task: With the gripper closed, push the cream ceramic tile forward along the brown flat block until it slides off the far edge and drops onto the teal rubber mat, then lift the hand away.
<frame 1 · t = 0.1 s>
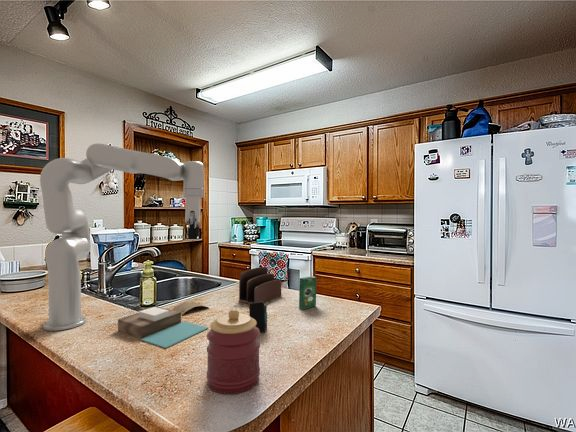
hand: (193, 237, 119), 31 cm above the countertop, tool pointing down, fingers open, 9 cm apart
letter holder: (260, 299, 146), on the countertop
coffee box: (307, 307, 133), on the countertop
tile: (154, 316, 109), point 4 cm above the countertop, touching brown flat block
brown flat block: (150, 326, 110), on the countertop
speaker: (257, 330, 108), on the countertop
clay tablet: (190, 310, 129), on the countertop
canister: (233, 380, 76), on the countertop
mat: (175, 334, 103), on the countertop
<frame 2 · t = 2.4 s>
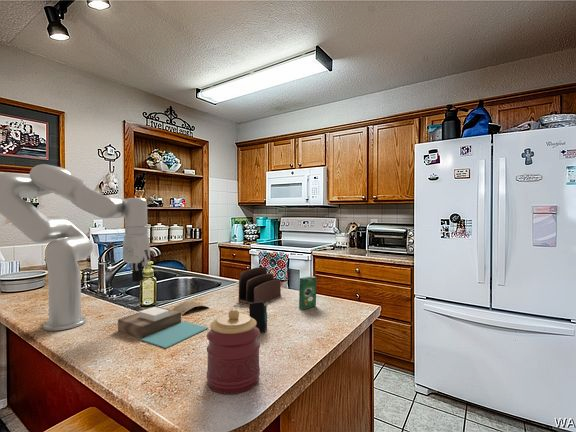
hand: (137, 280, 113), 16 cm above the countertop, tool pointing down, fingers closed
nothing on the countertop moved.
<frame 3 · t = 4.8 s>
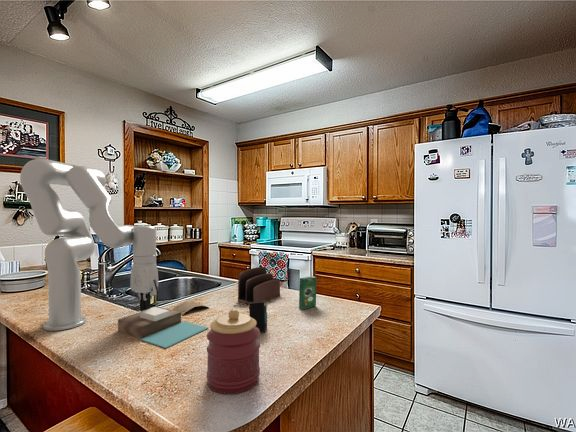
hand: (145, 310, 111), 5 cm above the countertop, tool pointing down, fingers closed
tile: (154, 316, 109), point 4 cm above the countertop, touching brown flat block, gripper
everything else where it was.
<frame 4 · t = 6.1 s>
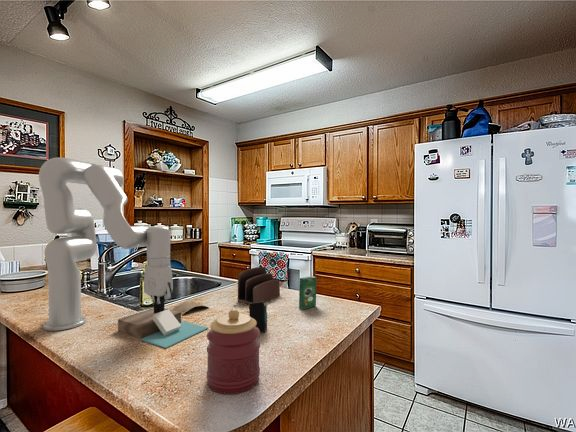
hand: (159, 313, 107), 5 cm above the countertop, tool pointing down, fingers closed
tile: (165, 323, 105), point 3 cm above the countertop, tilted 36°, touching gripper, mat
everything else where it was.
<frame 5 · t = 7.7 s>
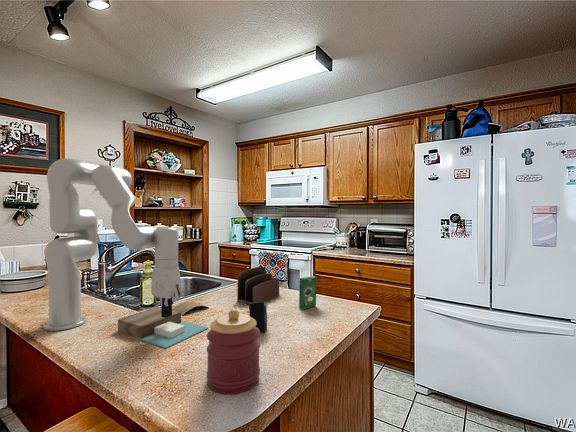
hand: (166, 316, 105), 5 cm above the countertop, tool pointing down, fingers closed
tile: (169, 332, 104), resting on mat
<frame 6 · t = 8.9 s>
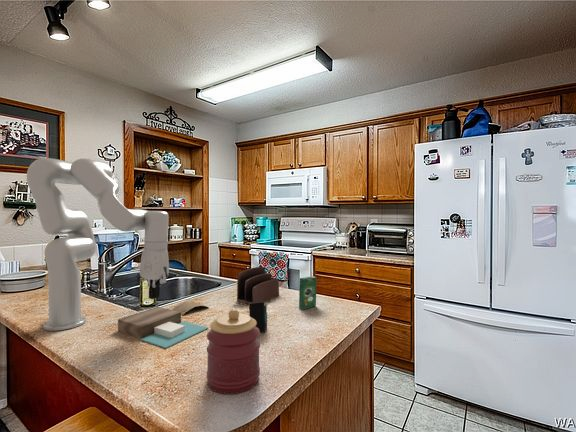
hand: (154, 297, 108), 11 cm above the countertop, tool pointing down, fingers closed
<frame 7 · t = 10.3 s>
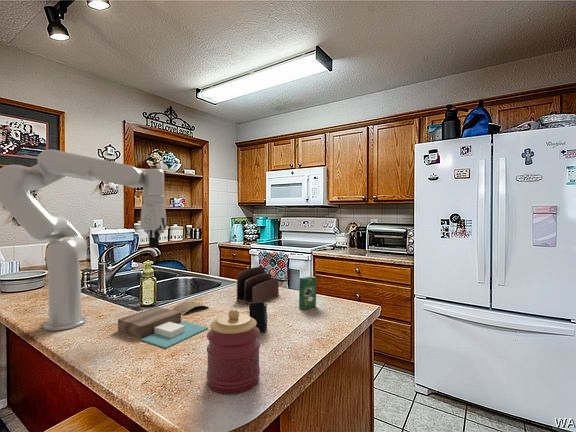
hand: (154, 247, 120), 27 cm above the countertop, tool pointing down, fingers closed
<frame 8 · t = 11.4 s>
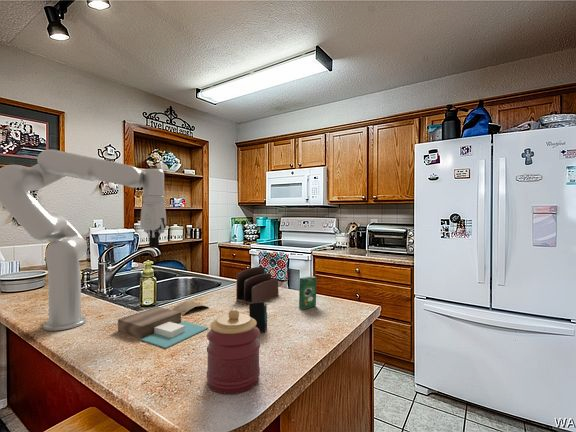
hand: (154, 247, 120), 27 cm above the countertop, tool pointing down, fingers closed
at the end: tile inside the target area on the mat (2.3 cm from its centre), point 0.4 cm above the mat's base; tile moved 9.5 cm from its start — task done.
